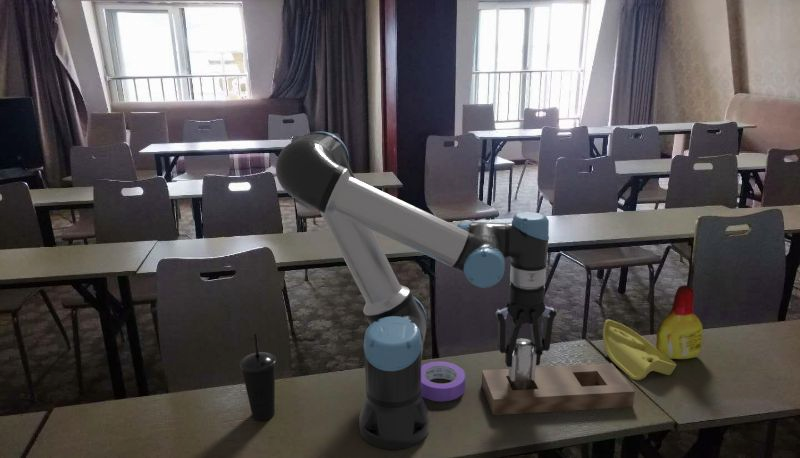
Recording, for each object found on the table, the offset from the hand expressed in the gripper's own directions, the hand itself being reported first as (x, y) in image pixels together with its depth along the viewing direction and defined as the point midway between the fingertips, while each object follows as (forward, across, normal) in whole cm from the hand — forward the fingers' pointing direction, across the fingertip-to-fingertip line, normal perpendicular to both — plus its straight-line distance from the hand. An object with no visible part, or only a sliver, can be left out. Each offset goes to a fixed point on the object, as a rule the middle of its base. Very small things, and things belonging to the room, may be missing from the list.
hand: (521, 377), depth 131 cm
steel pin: (+5, 0, 0) cm, 5 cm away
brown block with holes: (+5, +8, 0) cm, 10 cm away
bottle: (+5, +45, +14) cm, 48 cm away
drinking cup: (+6, -59, -1) cm, 59 cm away
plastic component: (+6, +34, +13) cm, 37 cm away
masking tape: (+6, -18, +6) cm, 20 cm away
